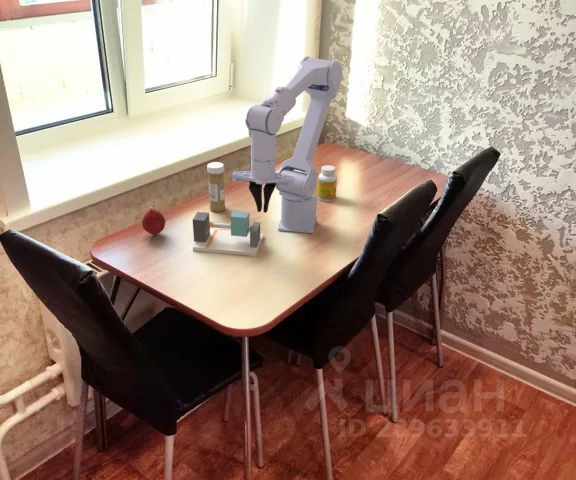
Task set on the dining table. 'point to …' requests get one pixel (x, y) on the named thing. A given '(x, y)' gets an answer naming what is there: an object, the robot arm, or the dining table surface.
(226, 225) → the sliding block rail
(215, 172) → the sprinkles bottle
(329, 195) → the supplement bottle
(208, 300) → the dining table surface
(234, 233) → the sleeve
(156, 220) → the onion
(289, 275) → the dining table surface
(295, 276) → the dining table surface
